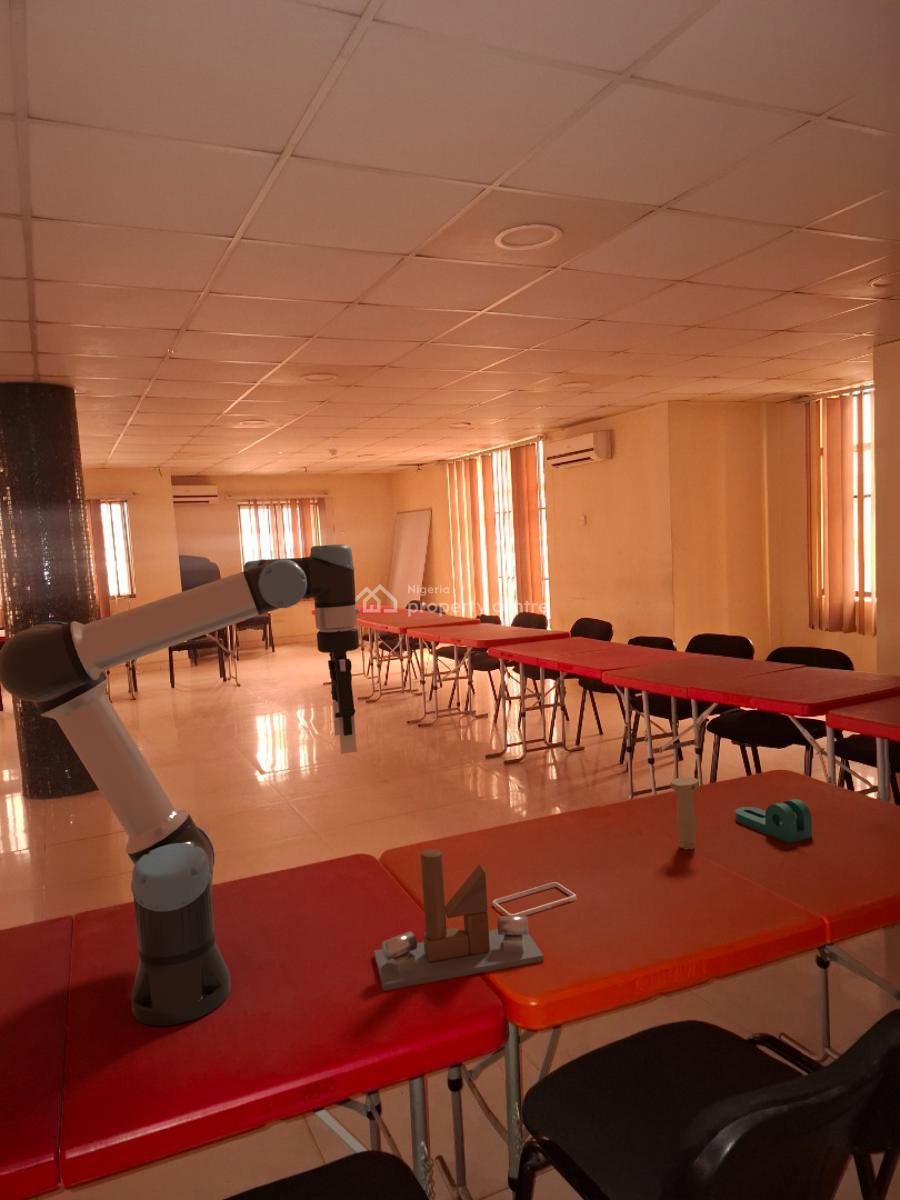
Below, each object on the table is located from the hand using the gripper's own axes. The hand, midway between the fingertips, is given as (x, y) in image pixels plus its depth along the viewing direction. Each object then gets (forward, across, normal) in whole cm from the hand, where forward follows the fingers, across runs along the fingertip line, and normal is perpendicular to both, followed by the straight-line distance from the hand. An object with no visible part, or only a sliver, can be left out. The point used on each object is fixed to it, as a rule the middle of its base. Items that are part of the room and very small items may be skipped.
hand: (345, 743), depth 145 cm
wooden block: (+34, -18, -15) cm, 41 cm away
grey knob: (+35, -19, -25) cm, 47 cm away
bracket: (+35, +14, -97) cm, 104 cm away
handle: (+35, +10, -74) cm, 82 cm away
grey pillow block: (+35, -19, -5) cm, 40 cm away
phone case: (+35, -3, -34) cm, 49 cm away
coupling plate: (+35, -18, -15) cm, 42 cm away
